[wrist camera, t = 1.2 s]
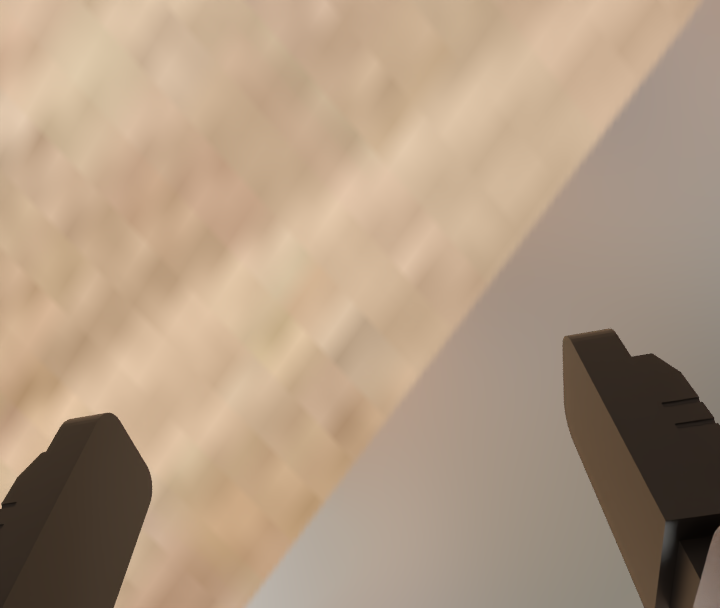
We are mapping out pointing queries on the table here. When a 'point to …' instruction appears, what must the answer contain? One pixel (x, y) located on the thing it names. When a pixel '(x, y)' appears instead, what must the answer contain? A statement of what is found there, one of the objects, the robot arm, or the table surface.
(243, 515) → the table surface
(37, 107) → the table surface
